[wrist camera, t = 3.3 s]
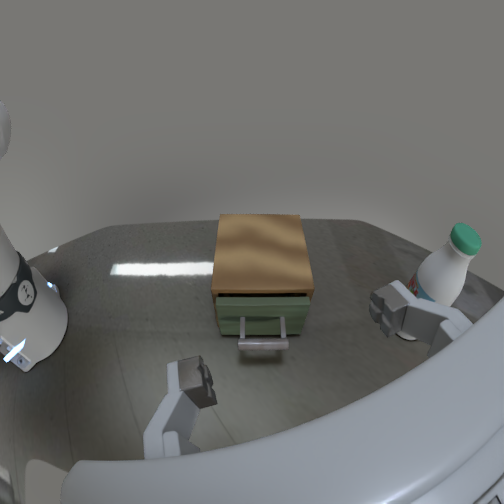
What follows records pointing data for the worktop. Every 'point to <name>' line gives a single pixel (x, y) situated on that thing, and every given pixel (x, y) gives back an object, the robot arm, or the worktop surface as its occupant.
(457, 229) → the milk bottle
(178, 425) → the robot arm
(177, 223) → the worktop surface
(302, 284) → the cabinet
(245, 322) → the drawer
